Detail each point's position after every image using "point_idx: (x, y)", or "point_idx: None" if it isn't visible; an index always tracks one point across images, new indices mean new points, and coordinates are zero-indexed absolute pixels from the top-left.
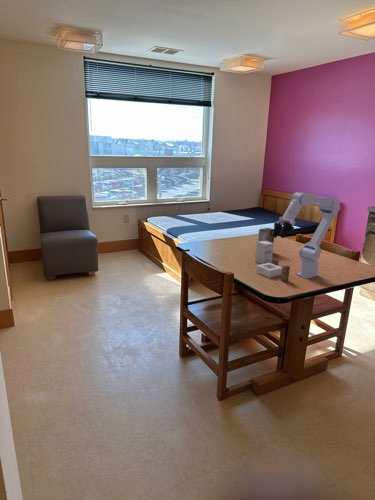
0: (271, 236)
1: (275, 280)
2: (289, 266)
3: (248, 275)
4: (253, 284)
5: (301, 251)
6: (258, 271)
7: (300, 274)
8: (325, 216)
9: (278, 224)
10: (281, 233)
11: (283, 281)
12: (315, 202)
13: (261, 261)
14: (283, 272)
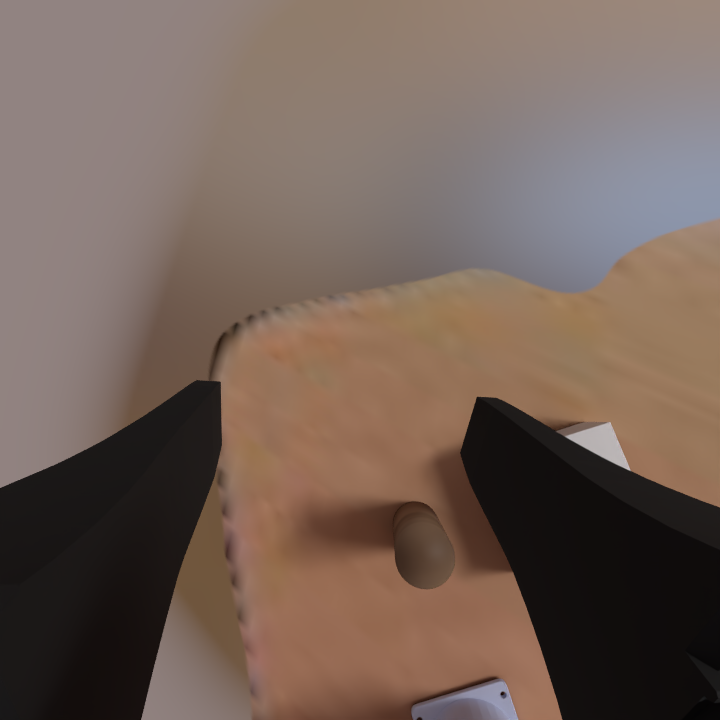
0: None
1: (426, 469)
2: (413, 582)
3: (532, 348)
4: (394, 315)
5: None
6: (570, 428)
7: (480, 699)
8: None
9: (705, 655)
10: (169, 407)
11: (399, 508)
12: None
13: None
14: (406, 518)
